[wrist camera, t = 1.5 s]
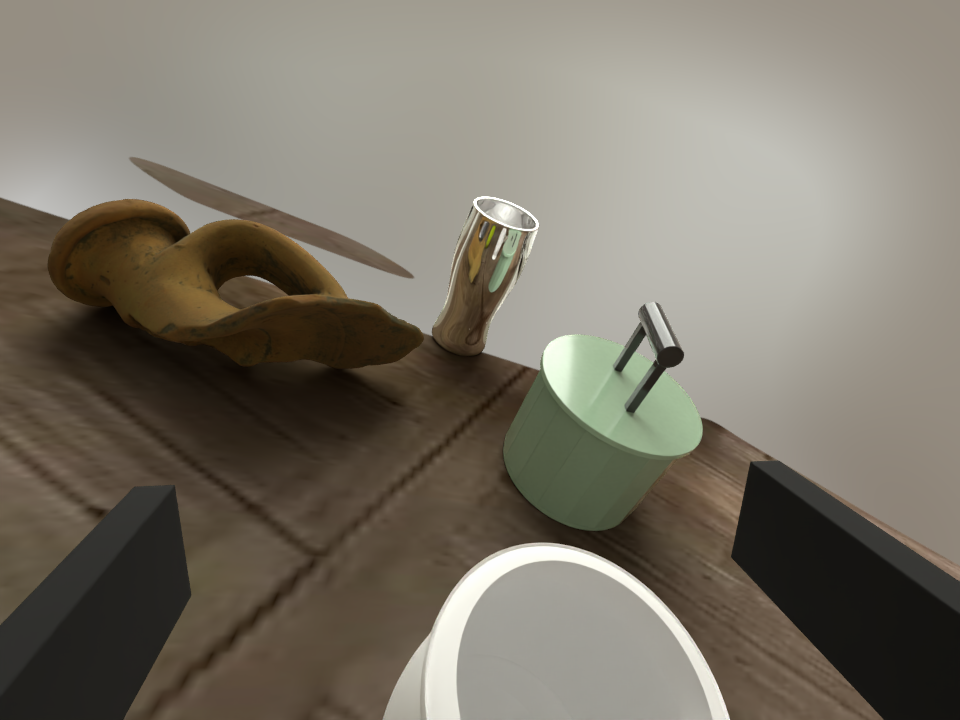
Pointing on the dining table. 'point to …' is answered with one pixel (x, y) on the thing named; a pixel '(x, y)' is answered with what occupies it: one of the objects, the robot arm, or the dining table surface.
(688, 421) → the pot lid
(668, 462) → the pot
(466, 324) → the beer glass
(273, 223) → the dining table surface
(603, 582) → the jar
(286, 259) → the brown looped sculpture
